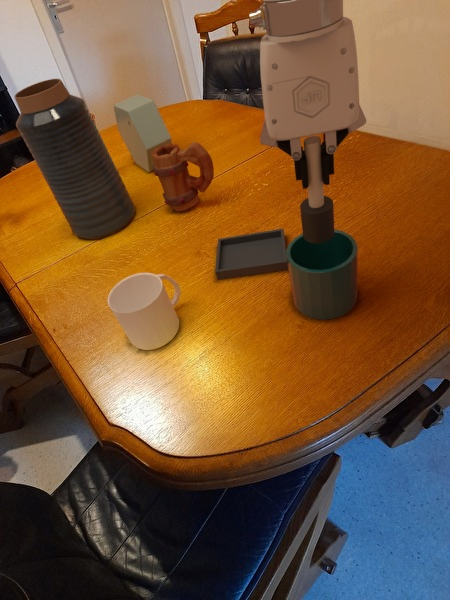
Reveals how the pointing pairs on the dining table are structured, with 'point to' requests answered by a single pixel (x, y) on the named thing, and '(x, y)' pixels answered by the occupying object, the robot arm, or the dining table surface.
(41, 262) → the dining table surface
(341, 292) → the jar
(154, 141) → the pale green angular block
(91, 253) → the dining table surface
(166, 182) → the mug
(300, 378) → the dining table surface
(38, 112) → the vase
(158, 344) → the mug
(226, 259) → the tray
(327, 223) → the brush
